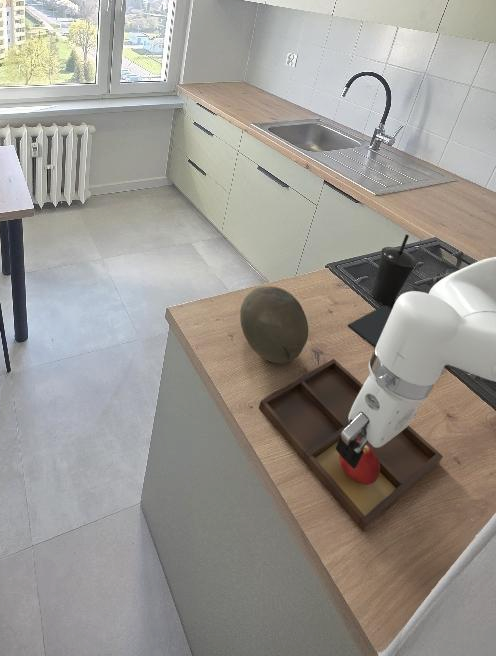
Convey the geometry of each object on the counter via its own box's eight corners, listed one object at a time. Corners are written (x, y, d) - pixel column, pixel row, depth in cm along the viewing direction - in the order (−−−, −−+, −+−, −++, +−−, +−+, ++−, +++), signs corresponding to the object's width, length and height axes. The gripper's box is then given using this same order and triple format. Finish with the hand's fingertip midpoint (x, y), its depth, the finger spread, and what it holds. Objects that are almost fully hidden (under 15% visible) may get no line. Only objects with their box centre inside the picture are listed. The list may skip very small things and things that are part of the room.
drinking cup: (394, 314, 104) (421, 249, 96) (361, 296, 109) (384, 234, 101) (403, 299, 109) (429, 236, 101) (371, 283, 114) (394, 222, 106)
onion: (344, 449, 74) (357, 420, 71) (378, 479, 70) (393, 450, 66) (327, 470, 71) (340, 441, 67) (362, 503, 67) (377, 473, 63)
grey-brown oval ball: (305, 342, 95) (321, 291, 89) (292, 389, 84) (309, 336, 78) (244, 314, 102) (255, 265, 96) (225, 355, 91) (235, 303, 85)
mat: (453, 356, 93) (454, 354, 93) (417, 381, 87) (418, 379, 87) (382, 307, 106) (383, 305, 106) (347, 326, 100) (348, 324, 100)
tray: (438, 463, 73) (443, 456, 72) (362, 531, 64) (366, 524, 63) (331, 365, 90) (333, 358, 89) (258, 407, 81) (260, 400, 80)
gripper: (391, 420, 53) (352, 496, 60) (461, 369, 61) (419, 441, 68) (338, 372, 59) (308, 446, 66) (408, 330, 67) (374, 401, 74)
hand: (364, 443), depth 67 cm, fingers open, 9 cm apart
